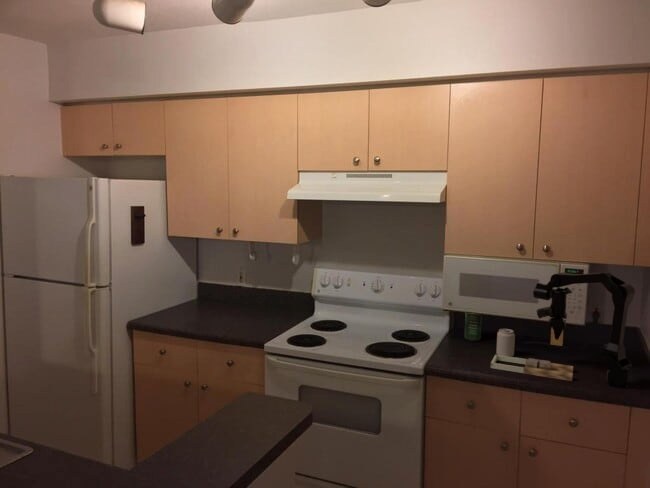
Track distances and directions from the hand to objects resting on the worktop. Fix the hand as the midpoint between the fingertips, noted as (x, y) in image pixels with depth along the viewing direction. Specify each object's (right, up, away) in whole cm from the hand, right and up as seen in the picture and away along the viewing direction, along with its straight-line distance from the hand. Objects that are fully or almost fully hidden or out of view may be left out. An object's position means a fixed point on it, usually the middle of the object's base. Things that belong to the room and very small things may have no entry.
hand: (556, 338), depth 223 cm
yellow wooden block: (0, -3, 0) cm, 2 cm away
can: (-18, -11, +14) cm, 25 cm away
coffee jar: (-25, -7, +38) cm, 46 cm away
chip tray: (-21, -12, -1) cm, 24 cm away
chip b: (-13, -12, -6) cm, 18 cm away
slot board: (-7, -13, -8) cm, 17 cm away
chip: (-9, -12, -8) cm, 17 cm away
